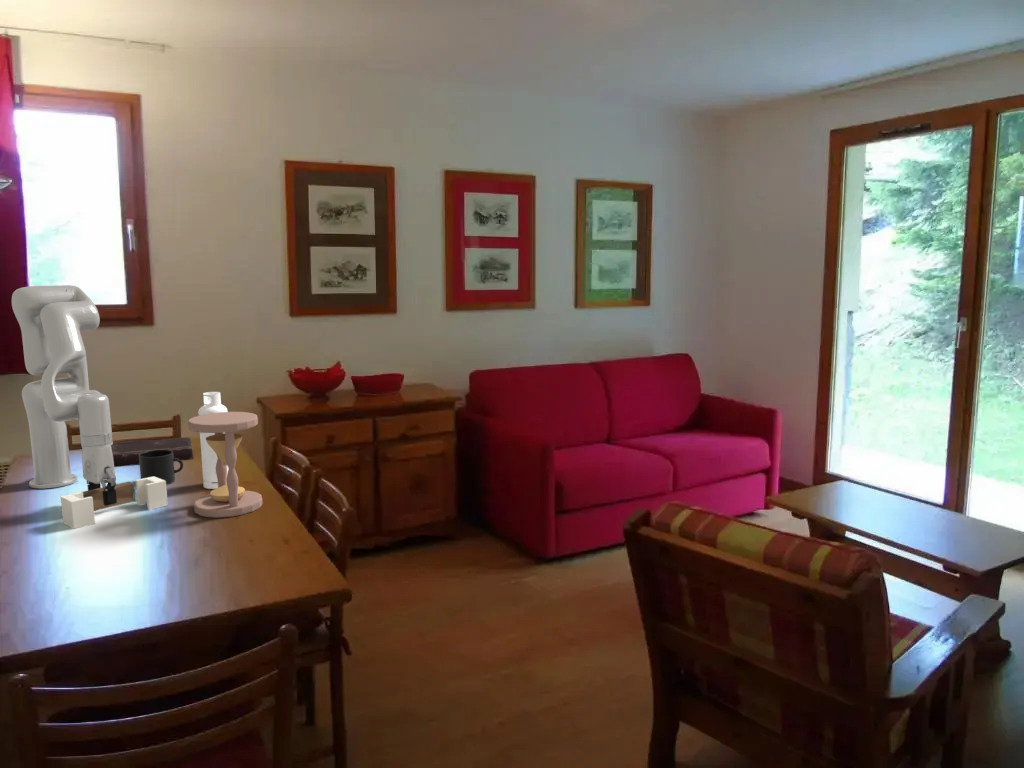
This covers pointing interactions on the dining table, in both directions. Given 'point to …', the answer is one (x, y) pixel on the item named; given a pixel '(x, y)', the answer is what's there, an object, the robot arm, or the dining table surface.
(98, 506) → the rail
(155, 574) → the dining table surface
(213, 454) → the bottle
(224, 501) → the hourglass
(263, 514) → the dining table surface
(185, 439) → the diary
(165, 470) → the mug
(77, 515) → the white u-channel cradle
